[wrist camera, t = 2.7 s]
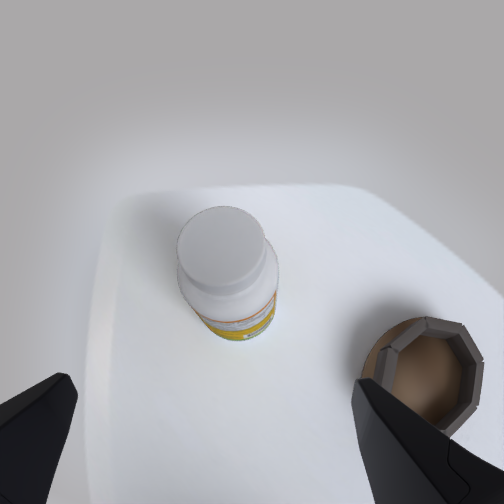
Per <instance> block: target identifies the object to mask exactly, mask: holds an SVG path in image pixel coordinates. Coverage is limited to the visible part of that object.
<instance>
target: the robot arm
mask: <svg viewBox="0 0 504 504" xmlns="http://www.w3.org/2000/svg"><path fill="white" fill-rule="evenodd" d="M77 399H78V393H77V390H76V388H75V386H74V384H73V382H72V380H71V378H70V376H69V375H68V374H64V373H56V374H54V375H52V376H51V377H49V378H47V379H45V380H43V381H42V382H40V383H38V384H36V385H35V386H33V387H31V388H29V389H27V390H26V391H24V392H22V393H21V394H18V395H17V396H15V397H13V398H11V399H9V400H8V401H6V402H4V403H2V404H0V504H46V502H47V498H48V494H49V491H50V488H51V484H52V481H53V478H54V474H55V471H56V468H57V465H58V462H59V459H60V456H61V453H62V450H63V447H64V444H65V442H66V439H67V436H68V433H69V429H70V425H71V421H72V417H73V414H74V409H75V406H76V403H77ZM351 403H352V410H353V415H354V421H355V427H356V432H357V439H358V444H359V449H360V452H361V456H362V459H363V463H364V466H365V469H366V473H367V476H368V480H369V483H370V487H371V490H372V494H373V497H374V501H375V504H504V471H503V470H501V469H499V468H497V467H495V466H493V465H491V464H490V463H488V462H486V461H484V460H482V459H481V458H479V457H477V456H476V455H474V454H472V453H471V452H469V451H468V450H466V449H465V448H463V447H462V446H460V445H459V444H458V443H456V442H455V441H454V440H452V439H450V438H449V437H448V436H447V435H445V434H444V433H443V432H441V431H440V430H439V429H437V428H436V427H435V426H433V425H432V424H431V423H429V422H428V421H427V420H425V419H424V418H423V417H421V416H420V415H419V414H417V413H416V412H415V411H413V410H412V409H411V408H409V407H408V406H407V405H405V404H404V403H403V402H401V401H400V400H399V399H398V398H396V397H395V396H394V395H392V394H391V393H390V392H388V391H387V390H386V389H385V388H383V387H382V386H381V385H379V384H378V383H377V382H375V381H374V380H373V379H372V378H370V377H366V378H359V379H357V380H356V381H355V385H354V390H353V394H352V400H351Z"/></svg>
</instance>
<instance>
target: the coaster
mask: <svg viewBox="0 0 504 504" xmlns="http://www.w3.org/2000/svg"><path fill="white" fill-rule="evenodd" d="M482 361H483V357H482V355H481V353H480V351H479V350H478V348H477V346H476V344H475V343H474V341H473V339H472V338H471V336H470V334H469V333H468V331H467V329H466V328H465V326H464V325H463V326H462V323H457V322H452V321H447V320H442V319H437V318H432V317H427V316H426V317H420V318H413V319H410V320H407V321H404V322H402V323H400V324H398V325H396V326H395V327H393V328H392V329H390V330H389V331H387V332H386V333H385V334H384V335H383V336H382V337H381V338H380V339H379V340H378V341H377V343H376V344H375V345H374V347H373V348H372V350H371V352H370V354H369V355H368V357H367V360H366V363H365V365H364V369H363V372H362V378H366V377H370V378H372V379H373V380H374V381H375V382H377V383H378V384H379V385H381V386H382V387H383V388H385V389H386V390H387V391H388V392H390V393H391V394H392V395H394V396H395V397H396V398H398V399H399V400H400V401H401V402H403V403H404V404H405V405H407V406H408V407H409V408H411V409H412V410H413V411H415V412H416V413H417V414H419V415H420V416H421V417H423V418H424V419H425V420H427V421H428V422H429V423H431V424H432V425H433V426H435V427H436V428H437V429H439V430H440V431H441V432H443V433H444V434H445V435H447V436H448V437H449V438H450V437H451V436H452V435H453V434H454V433H455V432H456V431H457V430H458V429H459V428H460V427H461V426H462V425H463V424H464V422H465V421H466V420H467V419H468V418H469V417H470V416H471V415H472V414H473V413H474V412H475V410H476V409H477V407H476V406H479V400H480V394H481V387H482V379H483V370H484V362H482Z"/></svg>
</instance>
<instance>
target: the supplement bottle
mask: <svg viewBox="0 0 504 504" xmlns="http://www.w3.org/2000/svg"><path fill="white" fill-rule="evenodd" d="M177 257H178V261H179V263H178V269H177V278H178V284H179V288H180V290H181V293H182V295H183V296H184V298H185V300H186V301H187V302H188V304H189V305H190V306H191V307H192V309H193V310H194V311H195V312H196V313H197V315H198V316H199V317H200V318H201V320H202V321H203V322H204V323H205V324H206V326H207V327H208V328H209V329H210V330H211V331H212V332H214V333H215V334H216V335H218V336H219V337H222V338H224V339H227V340H231V341H245V340H249V339H252V338H254V337H256V336H258V335H260V334H261V333H262V332H263V331H264V330H265V329H266V328H267V327H268V326H269V325H270V323H271V321H272V319H273V317H274V314H275V309H276V301H277V290H278V280H279V265H278V259H277V256H276V253H275V251H274V249H273V247H272V245H271V244H270V243H269V241H268V240H267V239H266V238H265V235H264V232H263V229H262V227H261V225H260V224H259V222H258V221H257V220H256V219H255V218H254V217H253V216H252V215H250V214H249V213H247V212H246V211H244V210H241V209H238V208H235V207H229V206H218V207H213V208H210V209H206V210H204V211H202V212H200V213H198V214H197V215H195V216H194V217H193V218H191V219H190V220H189V221H188V222H187V223H186V225H185V226H184V228H183V229H182V231H181V233H180V235H179V238H178V241H177Z"/></svg>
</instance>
